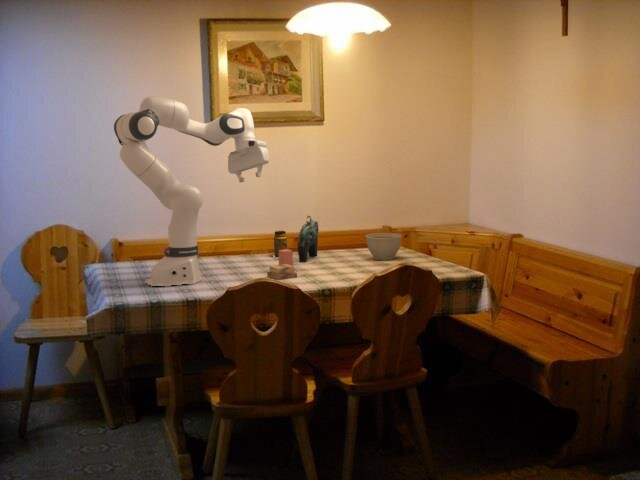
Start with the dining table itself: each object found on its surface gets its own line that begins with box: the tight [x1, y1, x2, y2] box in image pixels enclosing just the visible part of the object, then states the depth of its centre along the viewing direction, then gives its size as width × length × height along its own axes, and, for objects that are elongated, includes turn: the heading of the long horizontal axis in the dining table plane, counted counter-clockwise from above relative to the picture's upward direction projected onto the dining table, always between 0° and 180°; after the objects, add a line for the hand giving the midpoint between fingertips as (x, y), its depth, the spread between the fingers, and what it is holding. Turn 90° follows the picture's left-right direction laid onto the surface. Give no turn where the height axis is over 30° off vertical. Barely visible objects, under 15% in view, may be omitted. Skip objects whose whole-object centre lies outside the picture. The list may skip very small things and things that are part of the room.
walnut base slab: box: [266, 271, 298, 281], centre depth 313 cm, size 9×9×2 cm
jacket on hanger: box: [297, 215, 319, 263], centre depth 353 cm, size 20×6×20 cm, turn 162°
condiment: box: [268, 230, 288, 259], centre depth 362 cm, size 7×8×12 cm
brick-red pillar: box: [278, 248, 294, 266], centre depth 324 cm, size 4×4×9 cm
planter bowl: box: [365, 232, 402, 261], centre depth 350 cm, size 16×16×11 cm
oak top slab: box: [269, 264, 295, 275], centre depth 312 cm, size 8×8×2 cm
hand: (250, 179), depth 317 cm, fingers open, 8 cm apart
